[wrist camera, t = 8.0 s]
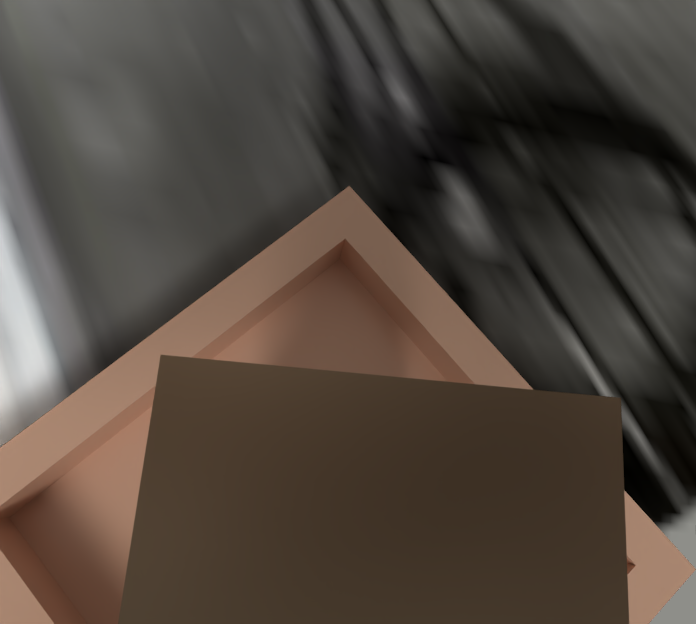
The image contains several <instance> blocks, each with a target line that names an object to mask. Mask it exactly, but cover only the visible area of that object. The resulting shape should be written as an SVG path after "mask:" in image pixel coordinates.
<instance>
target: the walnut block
mask: <svg viewBox="0 0 696 624" xmlns="http://www.w3.org/2000/svg"><path fill="white" fill-rule="evenodd" d="M118 624H629V602H628V576H627V549H626V523H625V497H624V470H623V444H622V418H621V398H616V397H605V396H594V395H584V394H573V393H563V392H552V391H541V390H531V389H520V388H510V387H499V386H488V385H478V384H467V383H457V382H446V381H435V380H425V379H414V378H403V377H393V376H382V375H372V374H361V373H350V372H340V371H329V370H319V369H308V368H297V367H287V366H276V365H266V364H255V363H244V362H234V361H223V360H213V359H202V358H191V357H181V356H170V355H161V356H160V362H159V368H158V375H157V381H156V387H155V393H154V400H153V406H152V412H151V419H150V425H149V431H148V438H147V444H146V450H145V457H144V463H143V469H142V476H141V482H140V488H139V495H138V501H137V507H136V513H135V520H134V526H133V532H132V539H131V545H130V551H129V558H128V564H127V570H126V577H125V583H124V589H123V596H122V602H121V608H120V614H119V621H118Z"/></svg>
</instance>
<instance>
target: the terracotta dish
mask: <svg viewBox="0 0 696 624" xmlns="http://www.w3.org/2000/svg"><path fill="white" fill-rule="evenodd" d="M161 355H170V356H181V357H191V358H202V359H213V360H223V361H234V362H244V363H255V364H266V365H276V366H287V367H297V368H308V369H319V370H329V371H340V372H350V373H361V374H372V375H382V376H393V377H403V378H414V379H425V380H435V381H446V382H457V383H467V384H478V385H488V386H499V387H510V388H520V389H531V390H533V388H532V387H531V386H530V385H529V384H528V383H527V382H526V381H525V380H524V379H523V377H522V376H521V375H520V374H519V373H518V372H517V371H516V370H515V369H514V367H513V366H512V365H511V364H510V363H509V362H508V361H507V360H506V359H505V357H504V356H503V355H502V354H501V353H500V352H499V351H498V350H497V349H496V348H495V346H494V345H493V344H492V343H491V342H490V341H489V340H488V339H487V338H486V336H485V335H484V334H483V333H482V332H481V331H480V330H479V329H478V328H477V327H476V325H475V324H474V323H473V322H472V321H471V320H470V319H469V318H468V317H467V315H466V314H465V313H464V312H463V311H462V310H461V309H460V308H459V307H458V305H457V304H456V303H455V302H454V301H453V300H452V299H451V298H450V297H449V296H448V294H447V293H446V292H445V291H444V290H443V289H442V288H441V287H440V286H439V284H438V283H437V282H436V281H435V280H434V279H433V278H432V277H431V276H430V274H429V273H428V272H427V271H426V270H425V269H424V268H423V267H422V266H421V265H420V263H419V262H418V261H417V260H416V259H415V258H414V257H413V256H412V255H411V253H410V252H409V251H408V250H407V249H406V248H405V247H404V246H403V245H402V243H401V242H400V241H399V240H398V239H397V238H396V237H395V236H394V235H393V234H392V232H391V231H390V230H389V229H388V228H387V227H386V226H385V225H384V224H383V222H382V221H381V220H380V219H379V218H378V217H377V216H376V215H375V214H374V212H373V211H372V210H371V209H370V208H369V207H368V206H367V205H366V204H365V203H364V201H363V200H362V199H361V198H360V197H359V196H358V195H357V194H356V193H355V191H354V190H353V189H352V188H351V187H350V186H348V187H347V188H346V189H344V190H343V191H342V192H340V193H339V194H338V195H336V196H335V197H334V198H332V199H331V200H330V201H328V202H327V203H326V204H324V205H323V206H322V207H320V208H319V209H318V210H316V211H315V212H314V213H312V214H311V215H310V216H308V217H307V218H306V219H304V220H303V221H302V222H300V223H299V224H298V225H296V226H295V227H294V228H292V229H291V230H290V231H288V232H287V233H286V234H284V235H283V236H282V237H280V238H279V239H278V240H276V241H275V242H274V243H272V244H271V245H270V246H268V247H267V248H266V249H264V250H263V251H262V252H260V253H259V254H258V255H256V256H255V257H254V258H252V259H251V260H250V261H248V262H247V263H246V264H244V265H243V266H242V267H240V268H239V269H238V270H236V271H235V272H234V273H232V274H231V275H230V276H228V277H227V278H226V279H224V280H223V281H222V282H220V283H219V284H218V285H216V286H215V287H214V288H212V289H211V290H210V291H208V292H207V293H206V294H204V295H203V296H202V297H200V298H199V299H198V300H196V301H195V302H194V303H192V304H191V305H190V306H188V307H187V308H186V309H184V310H183V311H182V312H180V313H179V314H178V315H176V316H175V317H174V318H172V319H171V320H170V321H168V322H167V323H166V324H164V325H163V326H162V327H160V328H159V329H158V330H156V331H155V332H154V333H152V334H151V335H150V336H148V337H147V338H146V339H144V340H143V341H142V342H140V343H139V344H138V345H136V346H135V347H134V348H132V349H131V350H130V351H128V352H127V353H126V354H124V355H123V356H122V357H120V358H119V359H118V360H116V361H115V362H114V363H112V364H111V365H110V366H108V367H107V368H106V369H104V370H103V371H102V372H100V373H99V374H98V375H96V376H95V377H94V378H92V379H91V380H90V381H88V382H87V383H86V384H84V385H83V386H82V387H80V388H79V389H78V390H76V391H75V392H74V393H72V394H71V395H70V396H68V397H67V398H66V399H64V400H63V401H62V402H60V403H59V404H58V405H56V406H55V407H54V408H52V409H51V410H50V411H48V412H47V413H46V414H44V415H43V416H42V417H40V418H39V419H38V420H36V421H35V422H34V423H32V424H31V425H30V426H28V427H27V428H26V429H24V430H23V431H22V432H20V433H19V434H18V435H16V436H15V437H14V438H12V439H11V440H10V441H8V442H7V443H6V444H4V445H3V446H2V447H0V624H118V621H119V614H120V608H121V602H122V596H123V589H124V583H125V577H126V570H127V564H128V558H129V551H130V545H131V539H132V532H133V526H134V520H135V513H136V507H137V501H138V495H139V488H140V482H141V476H142V469H143V463H144V457H145V450H146V444H147V438H148V431H149V425H150V419H151V412H152V406H153V400H154V393H155V387H156V381H157V375H158V368H159V362H160V356H161ZM624 497H625V523H626V549H627V576H628V602H629V624H649V623H650V622H651V620H652V619H653V618H654V617H655V616H656V615H657V614H658V612H659V611H660V610H661V609H662V608H663V607H664V605H665V604H666V603H667V602H668V601H669V600H670V598H671V597H672V596H673V595H674V594H675V593H676V592H677V591H678V589H679V588H680V587H681V586H682V585H683V584H684V582H685V581H686V580H687V579H688V578H689V577H690V576H691V574H692V573H693V572H694V571H695V570H696V569H695V568H694V567H693V566H692V564H691V563H690V562H689V561H688V560H687V559H686V558H685V557H684V556H683V555H682V554H681V553H680V551H679V550H678V549H677V548H676V547H675V546H674V545H673V544H672V542H671V541H670V540H669V539H668V538H667V537H666V536H665V535H664V533H663V532H662V531H661V530H660V529H659V528H658V527H657V526H656V525H655V524H654V522H653V521H652V520H651V519H650V518H649V517H648V516H647V515H646V514H645V512H644V511H643V510H642V509H641V508H640V507H639V506H638V505H637V504H636V503H635V501H634V500H633V499H632V498H631V497H630V496H629V495H628V494H627V493H626V491H625V490H624Z"/></svg>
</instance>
